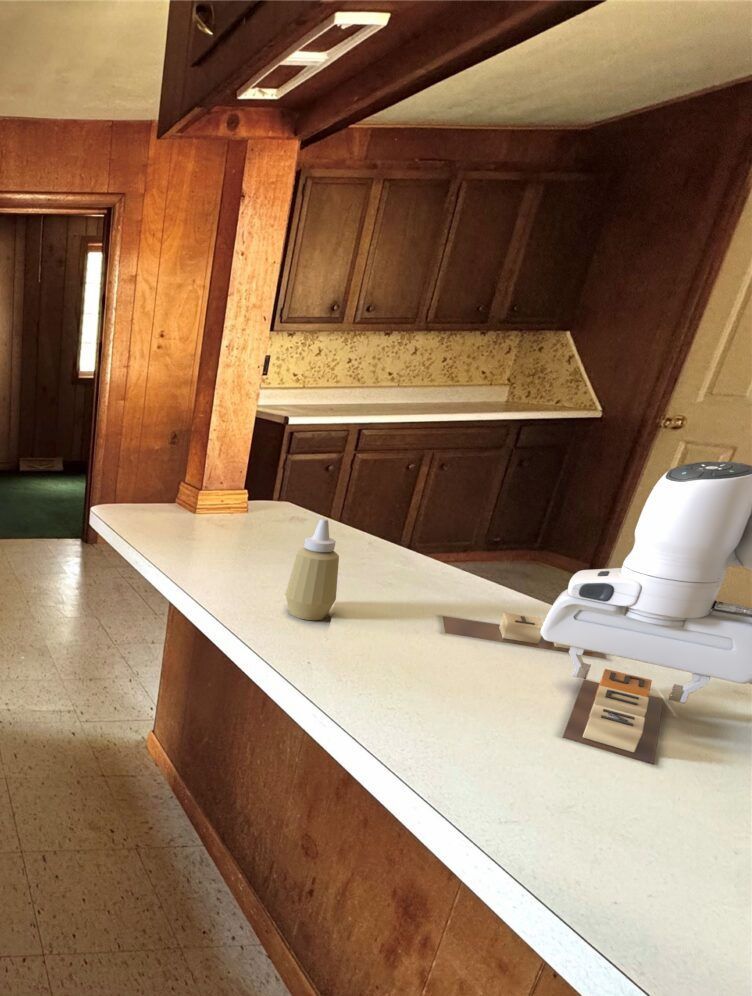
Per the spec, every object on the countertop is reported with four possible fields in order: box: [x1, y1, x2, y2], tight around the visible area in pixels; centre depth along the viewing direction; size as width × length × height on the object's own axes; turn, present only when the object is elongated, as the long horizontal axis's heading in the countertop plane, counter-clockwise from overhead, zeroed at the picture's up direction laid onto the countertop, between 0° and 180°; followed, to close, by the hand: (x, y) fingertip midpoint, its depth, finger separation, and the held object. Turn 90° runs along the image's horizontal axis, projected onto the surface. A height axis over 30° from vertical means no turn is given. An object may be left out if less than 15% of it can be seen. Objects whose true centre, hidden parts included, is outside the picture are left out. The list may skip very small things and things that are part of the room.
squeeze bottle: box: [285, 517, 340, 621], centre depth 117 cm, size 8×8×18 cm
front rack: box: [562, 679, 664, 765], centre depth 85 cm, size 20×8×4 cm, turn 133°
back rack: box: [442, 612, 607, 660], centre depth 107 cm, size 20×8×4 cm, turn 58°
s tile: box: [595, 668, 653, 698], centre depth 89 cm, size 5×5×3 cm
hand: (626, 687), depth 89 cm, fingers open, 8 cm apart
